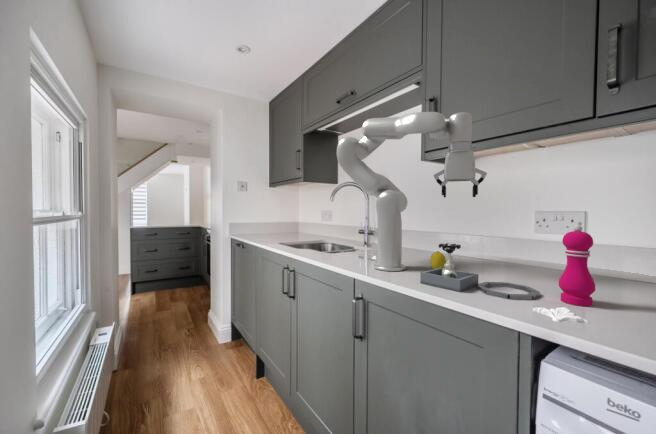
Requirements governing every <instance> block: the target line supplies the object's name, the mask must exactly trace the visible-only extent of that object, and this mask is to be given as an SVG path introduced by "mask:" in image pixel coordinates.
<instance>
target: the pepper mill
mask: <svg viewBox="0 0 656 434" xmlns="http://www.w3.org/2000/svg"><path fill="white" fill-rule="evenodd" d="M572 227H573V228H572V229H573V230H572V231H568V232H567V233H565V234H564V235H563V237H562V241H561V243H562V245H563V246H564V247H565V248H566V249H564V255H565V256H566V266H565V269H564V271H562V273H561V275H560V277H559V280H558V287H559V289H561V290H562V292H561V293H560V301H561V302H563V303H565V304H568V305H571V306H572V305H573V306H579V307H592V306H593V299H594V298H593V297H592V296H591V295H592V294H593V293H595V291H596V283H595V280H594V279H593V277H592V275H591V273H590V269H589V267H588V260H589V258H590V257H591V251H590V248H592V247H593V246H594V239H593V236H591V234H589V233H588V232H585V231H583V226H582V225H580V224H576V225H574V226H572Z"/></svg>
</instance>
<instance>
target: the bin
mask: <svg viewBox="0 0 656 434" xmlns="http://www.w3.org/2000/svg"><path fill="white" fill-rule="evenodd" d="M443 269H445V267H444V268H437V269H433V268H432V269H429V270H425V271H422V272H420V277H419V278H420V284H422V285H427V286H431V287H436V288H440V289H444V290H447V291H449V290H450V291H453V292H458V293H461V292H464V291H466V290H469V289H472V288H475V287H477V285H478V284H479V274H478V273H473V272H468V271H461V270H457V269H456V270H455V269H453V270H454V271H455V273H456V274H457V275H458V279H456V278H451V277H449V276H450V275H451V274H450V275H448V277H445V276H442V270H443Z"/></svg>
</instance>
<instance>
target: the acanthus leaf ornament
mask: <svg viewBox="0 0 656 434" xmlns="http://www.w3.org/2000/svg"><path fill="white" fill-rule="evenodd" d="M532 311H533V312H535V313H538V314H541V315H544V316H547V317H549V318H551V319H552V321H553V322H557V323H561V322H563V321H568V322H574V323H585V324H590V321H589V320H587V319H584V318H583V317H581V316H578V315H575V313H574V312H572V311H571V310H570V309H568V308H567V307H566V306H565V307H564V306H562V307H556V308H550V309H548V308H545V307H533V308H532Z"/></svg>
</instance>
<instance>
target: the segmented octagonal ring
mask: <svg viewBox="0 0 656 434" xmlns="http://www.w3.org/2000/svg"><path fill="white" fill-rule="evenodd" d="M489 287H497V288H498V287H501V288H503V287H506V288H511V289H516V290H521V291H524V292H527V293H523V294H522V293H506V292H503V291H496V290H492V289H489ZM476 289H477V290H478V291H480V292H481V293H482V294H485V295H488V296H493V297H497V298H502V299H506V300H508V299H509V300H519V301H520V300H525V301H526V300H527V301H532V300H533V301H534V300H536V298H539V297H540V296H541V292H540V291H539V290H537V289H535V288H533V287H531V286H527V285H523V284H517V283H511V282H505V281H504V282H503V281H484V282H481V283H478V285H477V286H476Z"/></svg>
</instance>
